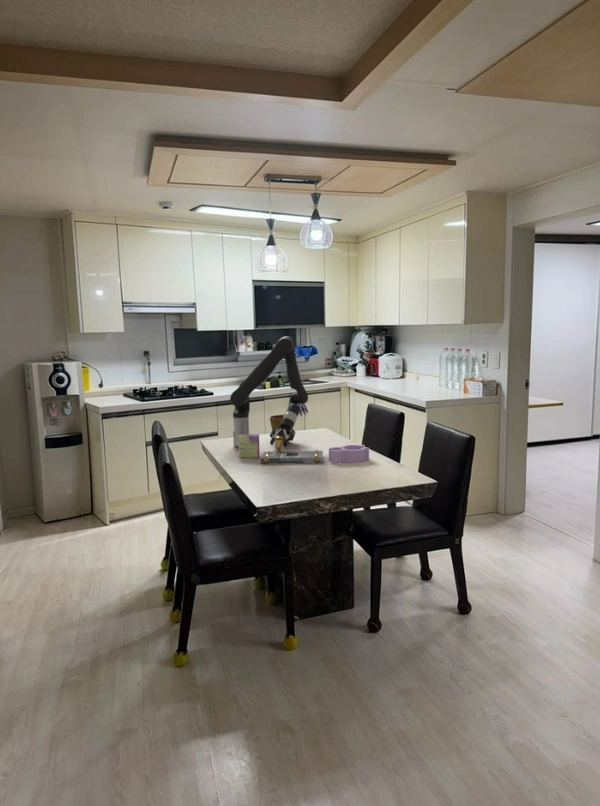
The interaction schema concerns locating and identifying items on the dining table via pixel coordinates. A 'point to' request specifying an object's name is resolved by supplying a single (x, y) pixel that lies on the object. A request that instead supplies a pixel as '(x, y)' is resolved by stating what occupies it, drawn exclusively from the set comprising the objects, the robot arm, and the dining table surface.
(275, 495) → the dining table surface
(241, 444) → the box
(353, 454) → the purple cup holder
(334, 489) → the dining table surface
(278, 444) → the master link pin
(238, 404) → the robot arm
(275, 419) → the plant pot
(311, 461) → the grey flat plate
